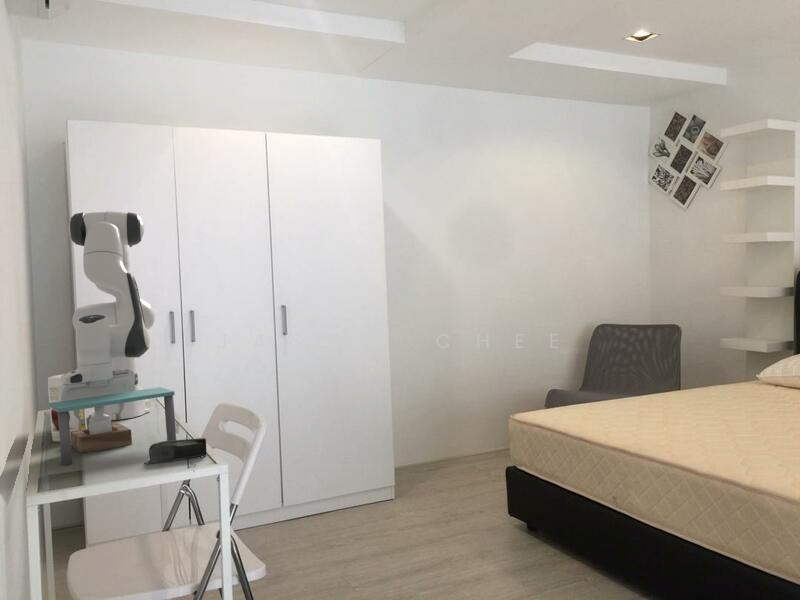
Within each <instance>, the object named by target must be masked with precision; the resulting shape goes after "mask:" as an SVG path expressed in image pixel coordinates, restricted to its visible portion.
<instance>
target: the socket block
mask: <svg viewBox="0 0 800 600" xmlns="http://www.w3.org/2000/svg"><path fill="white" fill-rule="evenodd" d="M111 426H112V431H111V432H105V433H99V434H93V435H90V429H89V427H87V429H81V430H75V431H70V432H71V447H73V448H74V449H76V450H77V451H78V452H80V453H81V454H86V453H90V452H96V451H97V452H98V451H102V450H107V449H111V448H116V447H117V448H118V447H122V446H123V447H124V446H128V445H133V439H132V438H133V437H132V429H130V428H129V427H126V426H125V425H123V424H121V423H118V422H117V423H114V424H113V423H111Z"/></svg>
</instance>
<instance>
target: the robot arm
mask: <svg viewBox="0 0 800 600" xmlns="http://www.w3.org/2000/svg"><path fill="white" fill-rule="evenodd" d="M68 234H69V237H70V238H71V242H72V243H73V244H75V245H77V246H81V247H83V255H82V257H83V258H82V261H83V263H82V265H83V271H84V275H85V277H86V278H87V279H88V280H89V281H90V282H91V283H93V284H94V285H95V286H96V289H98V290H100V291H101V292H103V293H106V294H108V295H111V296H113V297H114V298H115V301H112V302H100V303H98V302H97V303H90V304H86V305H82V306H79V307H77V308H76V310H75V311H74V312H73V316H72V325H73V328H74V330H75V331H76V338H75V339H76V350H77V353H78V361H77V367H78V368H76V369H74V370H72V371H70V372H67V373H65V374H64V375H62V376H61V382H62V383H64V384H62V385H61V386H60V388H59V392H58V402H60V401H67V400H74V399H81V398H88V397H95V396H102V395H109V394H116V393H123V392H130V391H137V390H144V389H143V388H142V387H140V386H139V385H138V384H139V376H138V373H137V366H136V358H140V357H142V356H143V355H144V354H145V353H146V352H147V351H148V350H149V349H150V343H151V342H150V334H149V332H148V330H150V329H151V328H152V327H153V326H154V323H155V319H156V314H155V311H154V309H153V307H152V305H151V304H150V303H148V302H147V301H145V300H144V299H142V298H141V297H140V293H139V292H140V291H139V288H138V284H137V281H136V278H135V275H134V274H133V273H132V272H131V270H130V269H131V268H130V255H129V248H132V247H134V246H135V245H138V244H139V243H140V242H142V241H143V237H144V235H145V224H144V222H143V220H142V217H141V216H140V215H139V214H138V213H134V212H130V211H129V212H123V211H122V212H120V211H107V210H106V211H97V212H94V211H93V212H84V211H83V212H78V213H74V214H73V215H72V216H71V217H70V220H69V222H68ZM128 246H129V247H128ZM99 407H100V406H99ZM103 407H104V414H105V415H109V416H110V417H111V421H117V420H124V419H131V418H136V417H140V416H142V415H144V414H147V413H150V412H151V409H150V408H146V403H145V400H138V401H132V402H125V403H119V404H112V405H105V406H103ZM92 408H93V409H94V408H95V407H92ZM92 408H91V409H92ZM87 409H88V408H86V410H87ZM73 414H74V415H75V417H76V418H77V419H78V425H79V426H83V425H85V419H84V418H80V416H79V415H78V414H80V409H79V410H73ZM90 415H91V417H93V416H95V410H93V411H91V412H90ZM91 417H90V418H91Z"/></svg>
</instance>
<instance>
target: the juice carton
mask: <svg viewBox="0 0 800 600" xmlns="http://www.w3.org/2000/svg"><path fill="white" fill-rule="evenodd" d="M62 375H64V374H57V375H52V376H49V377H47V390H48V391H47V392H48V393H47V394H48V404H49V403H53V402H58V392H59V388H60V386H61V385H62V384H64V383H62V382H61V376H62ZM86 411H87V409H80V414H78V415H79V416H80V418H84V419H85V425H83V426H79V425H78V419H77V418H76V417H75V415H74V414H73V411H68V414H69V427H70V431H75V430H81V429H87V428H88V425H87V412H86ZM49 417H50V430H51V437H52V441H53V442H54V443H55V442H56V443H58V442H59V443H60V436H59V423H58V412H57V411H55V410H53V409H52V408H50V407H49ZM70 440H71V432H70Z"/></svg>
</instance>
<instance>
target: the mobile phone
mask: <svg viewBox="0 0 800 600" xmlns="http://www.w3.org/2000/svg"><path fill="white" fill-rule="evenodd" d="M206 453H208V452H207V438H205V437H204V438H203V437H200V438H187V439H185V438H184V439H176V440H172V441H167V440H164V441H159V442H155V443H153V444H151V445H150V446H149V449H148V457H149V460H146V461H143V465H151V464H157V463H158V464H160V463H168V462H176V461H185V460H191V459H192V458H193V459H199V458H198V457H200V458H202V457H201V456H204V455H206ZM206 456H207V455H206ZM204 457H205V456H204ZM193 459H192V460H193Z"/></svg>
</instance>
